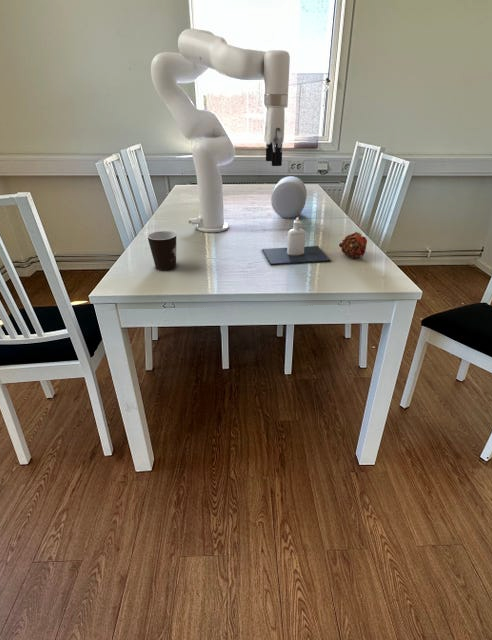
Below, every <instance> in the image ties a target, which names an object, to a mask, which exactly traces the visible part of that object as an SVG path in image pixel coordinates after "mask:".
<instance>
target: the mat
mask: <svg viewBox="0 0 492 640" xmlns="http://www.w3.org/2000/svg"><path fill="white" fill-rule="evenodd" d="M262 252H263V254H264V256H265V258H266V260H267V261H268V263H269V265H270V266H281V265H282V266H283V265H284V266H285V265H296V264H297V265H298V264H314V263H328V262H329V263H331V259H330V258H329V256H327V255H326V253H325V252H324V251H323V250H322V249H321V247H319V246H318V245H312V246H311V245H309V246H308V245H307V246H304V254H302V255H298V256H290V255H288V254H287V247H272V248H262Z"/></svg>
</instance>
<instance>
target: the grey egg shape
mask: <svg viewBox="0 0 492 640" xmlns="http://www.w3.org/2000/svg"><path fill="white" fill-rule="evenodd" d="M271 193H272V194H271V196H270V197H271V198H270V201H271V202H270V203H271V206H272V209H273V211H274V212H275V213H276V214H277V216H280V217H281V218H283V219H292V218H296V217H297V216H298V215H300V214H301V213H302V211H303V210H304V209H305V206H306V203H307V197H308V193H307V187H306V184H305V183H304V182H303V181H302V179H300V178H298V177H297V176H290V175H289V176H285V177H283V178H281V179H280V180H279V181H278V182H277V183H276V185H275V186H274V188H273V190H272V192H271ZM268 215H270V213H269V212H268Z"/></svg>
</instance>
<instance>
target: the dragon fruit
mask: <svg viewBox="0 0 492 640" xmlns="http://www.w3.org/2000/svg"><path fill="white" fill-rule="evenodd" d="M367 243H368V240H367V238H366V237H365V236H362V233H360V232H358V231H354V233H350V234H348V235H346V236H344V238H343V239H342V242H339V244H338V247H339V248H340V250H341V252H342V254H343V255H345V256H346V257H348V258H350V259H353V260H354V259H356V258H358V257H363V256H365V254H366V252H367V251H366V250H367Z"/></svg>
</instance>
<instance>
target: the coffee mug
mask: <svg viewBox="0 0 492 640" xmlns="http://www.w3.org/2000/svg"><path fill="white" fill-rule="evenodd" d="M146 237H147V241H148V245H149V248H150V251H151V256H152V260H153V263H154V267H155V269H156V270H157V271H159V272H168V271H172V270H175V269H176V268H177V233H176V232H174V231H170V230H159V231H154V232H151V233H148V234H147V236H146Z"/></svg>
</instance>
